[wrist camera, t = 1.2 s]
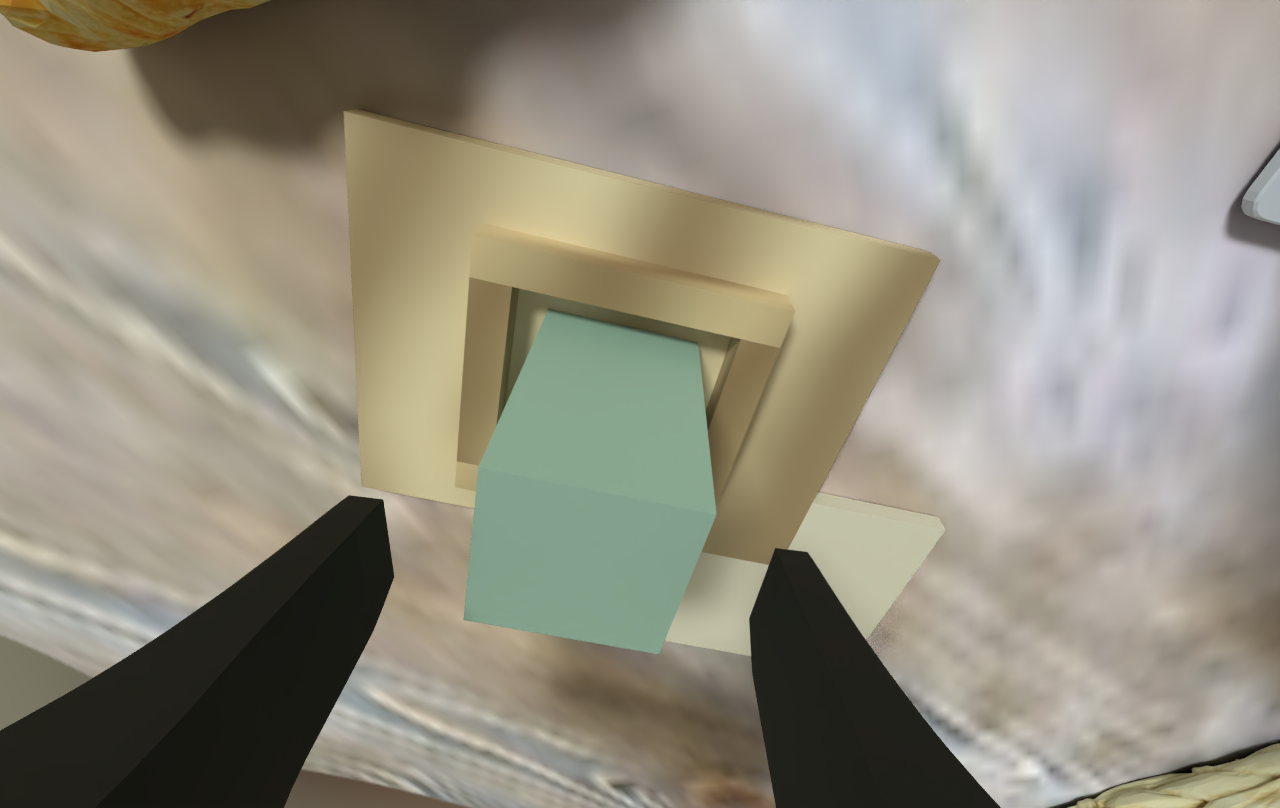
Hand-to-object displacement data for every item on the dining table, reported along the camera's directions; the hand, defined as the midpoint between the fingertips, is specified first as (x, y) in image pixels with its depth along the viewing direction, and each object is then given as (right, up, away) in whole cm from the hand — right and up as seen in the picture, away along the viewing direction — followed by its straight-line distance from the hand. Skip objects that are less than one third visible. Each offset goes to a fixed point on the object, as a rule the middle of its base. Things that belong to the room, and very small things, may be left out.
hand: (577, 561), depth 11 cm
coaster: (+6, -3, +10) cm, 12 cm away
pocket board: (0, +4, +6) cm, 7 cm away
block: (0, +3, +5) cm, 6 cm away
